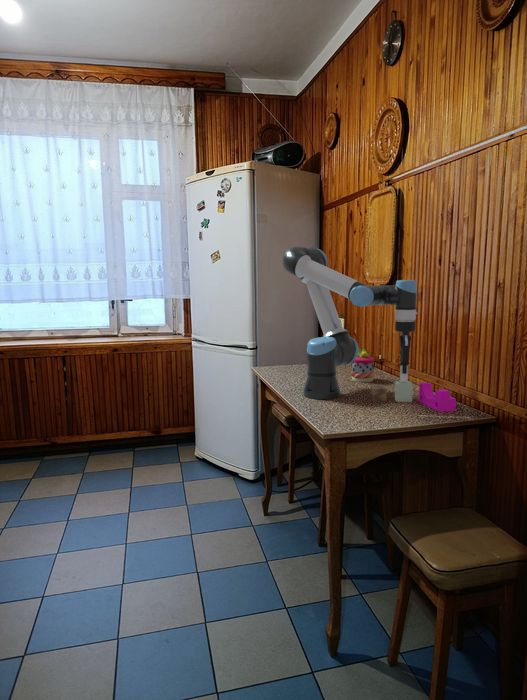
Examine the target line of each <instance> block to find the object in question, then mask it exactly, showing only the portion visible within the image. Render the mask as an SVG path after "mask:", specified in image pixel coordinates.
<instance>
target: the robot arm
mask: <svg viewBox="0 0 527 700" xmlns="http://www.w3.org/2000/svg"><path fill="white" fill-rule="evenodd" d="M327 265H328V257H327V255H326V253H325V252H324V251H323V250H322V249H319V248H317V247H313V246H311V247H310V246H309V247H305V246H304V247H303V246H292V247H290V248H288V249H287V250H286V251H285V252H284V254H283V256H282V266H283V268H284V270H285V271H286V272H287V273H288V274H291V275H293V276H295V277H296V278H300V280H301V282H302V284H305V285H306V287H307V291H308V293H309V296H310V298H311V302H312V304H313V305H312V306H313V307H314V311H315V313H316V316H317V319H318V322H319V324H320V325H319V326H320V328H321V330H322V333H323V335H322V336H321V337H314V338H311V339H309V341H308V342H307V347H306V352H307V353H306V354H307V355H306V356H307V360H306V361H307V362H306V363H307V364H306V365H307V366H306V367H307V373H306V374H307V376H306V380H305V383H304V386H303V389H302V395H303V397H306V398H309V399H315V400H316V399H317V400H330V399H336V398H339V397H340V396H341V388H340V385H339V382H338V379H337V367H340V366H341V367H342V366H346V365H349V364H352V363H351V362H353V361H354V360H355V359H356V357H357V355H358V350H359V349H360V348H359V344H358V342H357V341H356V340H355V338H353V337H351V336H350V334H349V331H348V330H347V329H345V328H343V325H342V322H341V320H340V315H339V314H338V311H337V309H336V305H335V303H334V300H333V297H332V294H331V291H332V292H334V293H336V294H338V295H340V296H342V297H344V298H346V299H349V300H350V302H351V303H352V305H354V306H356V307H361V308H362V307H363V308H365V307H371V306H390V305H391V306H395V310H394V314H395V315H394V320H395V323H394V330H395V332H400V333H401V334H400V335H399V336H398V340H399V364H398V365H399V367H400V369H399V370H400V371H399V375H400V376H399V381H400V382H408V381H409V380H408V377H409V365H410V362H409V361H410V348H411V340H412V337H411V336H410V333H411V332H416V321H415V320H416V319H417V318H416V317H417V316H416V315H418V311H417V295H418V290H417V288H418V287H417V286H418V285H417V281H416V280H415V279H398V280H396V282H395V285H383V284H382V285H380V284H379V285H378V284H377V285H376V284H375V285H367V284H366V283H363V282H361V281H358V280H357V279H355V278H352V277H349V276H348V275H345V274H343V273H340V272H338V271H337V270H335V269H332V268H330V267H328V266H327Z"/></svg>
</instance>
